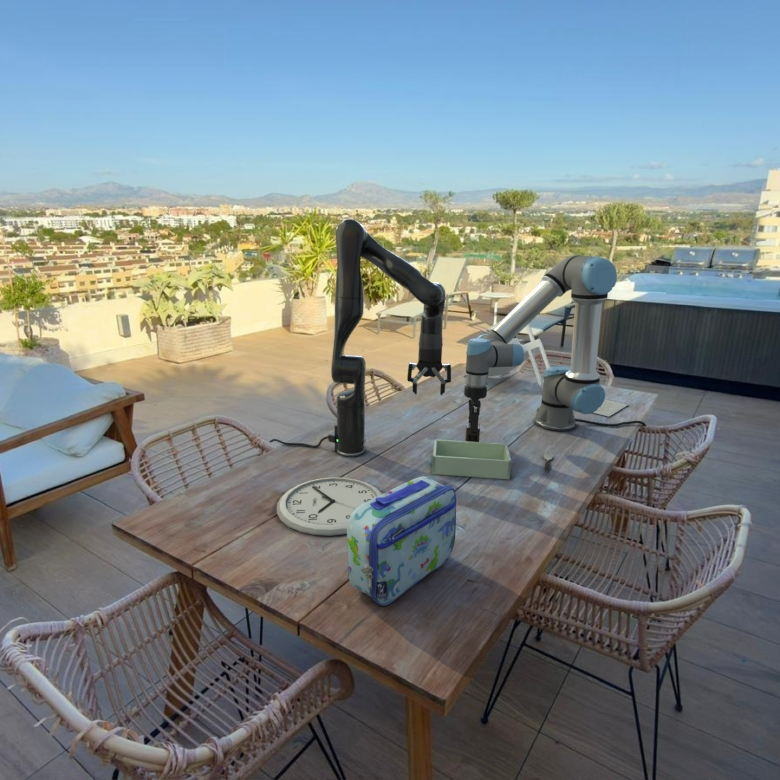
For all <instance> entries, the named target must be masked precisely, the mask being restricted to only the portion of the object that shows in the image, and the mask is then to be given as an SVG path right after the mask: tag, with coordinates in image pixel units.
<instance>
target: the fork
mask: <svg viewBox="0 0 780 780" xmlns="http://www.w3.org/2000/svg"><path fill="white" fill-rule="evenodd" d="M553 451H554V450H553V448H552V451H551V449H549V451H547V450H545V452H544V455H543V459H545V460H546V461H545V463H544V473H547V470H548V468H549V461H551V460H553Z"/></svg>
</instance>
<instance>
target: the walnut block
mask: <svg viewBox="0 0 780 780" xmlns="http://www.w3.org/2000/svg"><path fill="white" fill-rule="evenodd" d="M465 426H466V427H465V440H464V441H468V442H469V435H467V434H468V433H470V423H469V422H468V423H466V424H465ZM480 437H481V425H480V423H478V436H477V442H480Z"/></svg>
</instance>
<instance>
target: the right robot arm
mask: <svg viewBox="0 0 780 780" xmlns="http://www.w3.org/2000/svg"><path fill="white" fill-rule="evenodd" d="M617 280H618V272H617V269H616V266H615V264H613V262H612V261H611V260H610V259H607V258H605V257H601V256H593V255H581V254H580V255H579V254H575V255H570V256H568V257H566V258H564V259H562V260H561V261H559V262H558V263H556V264H555V265H554V266H553V267H552V268H550V270H548V271H547V272H546V273H545V274H544V275H542V277H541V282H540V283H539V284H538V285H537V286H536V287H535V288H533V289H532V291H530V293H529V294H527V295H526V296H525V297H524V298H523V299H522V300H521V301H520V302H519V303H518V304H517V305H516V306H515V307H513V309H512V310H511V311H510V312H509V313H508V314H507V315H506V316H505V317H504V318H503V319H501V321H500V322H498V323H497V324H496V325H495V326H494V327H493V328H492V329H491V330H490V331H489V332H488V333H486V334H487V335H484V334H481V335H478V336H477V337H476V338H475V337H474V338H471V339H469V340H468V342H467V346H466V360H465V361H466V362H465V374H463V376H462V377H463V378H464V389H463V396H464V397H466V398H467V399H468V417H467V418H468V421H467V422H468V423H469V424H470V433H468V434H467V435H469V442H477V436H478V424H479V416H480V414H481V413H480V412H481V406H482V402H481V399H485V398H486V397H487V394H488V385H489V376H488V371H489V367H513V366H517V367H519V366H521V365H522V364H523V363H524V362H523V360H524V350H523V348H522V346H521V345H519V344H508V343H509V342H510V341H511V340H512V339H514V338H516V336H517V335H518V334H519V333H521V332H522V331H523V330H524V329H525V328H526V326H527V325H528V324H530V323H531V322H532V321H533V320H534V319H535V318H536V317H537V316H538V315H540V314H541V312H543V311H544V310H545V309H546V308H547V307H548V306H549V305H550V304H551V303H552V302H553V301H554V300H555V299H556V298H559V297H560V298H561V297H562V296H563V295H564V294H566V293H567V292H569V291H570V292H571V293H570V298H571V299H572V301H573V302H574V314H573V328H572V340H571V352H570V353H571V355H570V366H558V365H557V366H550V367H549V368H546V369H545V370H544V373H543V389H542V394H541V402H540V405H539V407H538V408H537V410H536V413H535V417H534V424H535V425H536V426H537V427H539V428H542V429H544V430H549V431H556V432H567V431H572V430H574V429H575V428H576V422H578V423H585V424H589V425H594V426H600V427H601V426H602V427H619V426H623V425H633V424H640V425H642V426H643V427H647V424H646V423H645V422H644V421H641V420H630V421H622V422H621V421H620V422H618V423H605V422H597V421H590V420H585V419H580V418H575V417H576V416H575V413H574V412H577V413H579V414H582V415H590V414H594V413H593V412H595V411H596V410H597V409H598V408H599V407H601V405H602V404H603V402H604V399H606V391H605V389H604V387H603V386H602V385H600V380H601V375H600V373H599V372H598V371H597V364H598V363H597V362H598V352H599V341H600V330H601V320H602V309H603V303H604V302H605V301H606V300H607V299H608V296H609V293H610V292H611V291H612V290H613V288H615V286H616V283H617ZM522 362H523V363H522Z"/></svg>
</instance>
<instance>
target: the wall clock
mask: <svg viewBox="0 0 780 780" xmlns="http://www.w3.org/2000/svg"><path fill="white" fill-rule="evenodd" d="M381 494H384V492H382V491H381V490H380V489H379V488H377V487H376V486H374V485H372V484H371V483H369V482H365V481H362V480H359V479H355V478H349V477H338V476H337V477H335V476H333V477H332V476H331V477H322V478H317V479H312V480H307V481H305V482H302V483H299V484H297V485H295V486H293V487H292V488H290V489H288V490H287V491H286V492H285V493H284V494H283V495H281V496H280V498H279V499H278V502H277V503H276V515H277V517H278V518H279V520H280V521H281V522H282V523H283V524H285V525H286V526H287V527H288V528H290V529H293V530H295V531H297V532H299V533H303V534H308V535H312V536H327V537H328V536H329V537H331V536H332V537H333V536H342V535H347V525H348V521H349V518H350V516H351V514H352V513H353V511H354V510H355V509H356V508H357V507H358V506H360V505H362V504H363V503H365V502H368V501H370V500H372V499H374V498H376V497H378V496H380V495H381Z"/></svg>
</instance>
